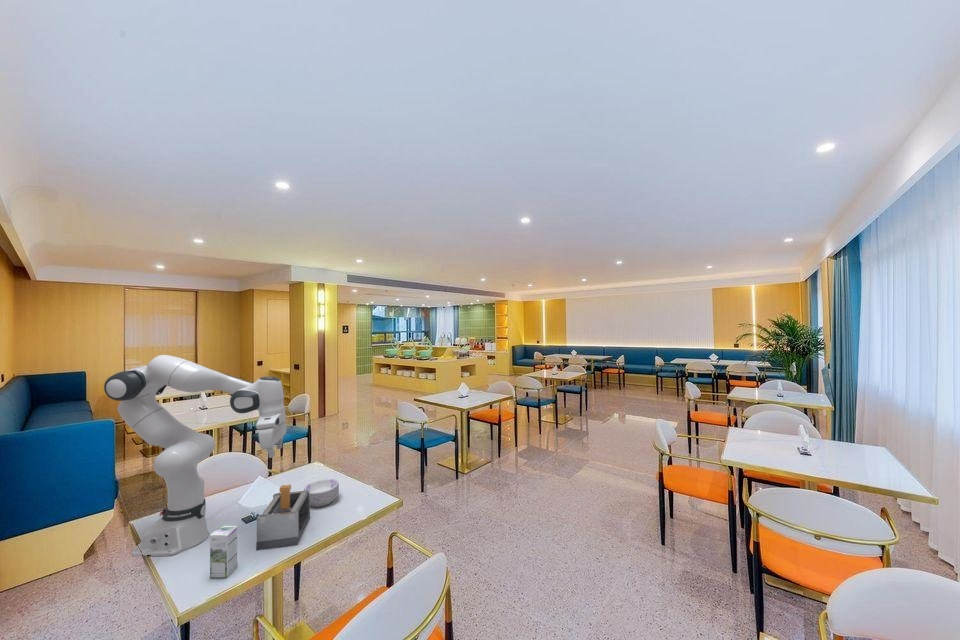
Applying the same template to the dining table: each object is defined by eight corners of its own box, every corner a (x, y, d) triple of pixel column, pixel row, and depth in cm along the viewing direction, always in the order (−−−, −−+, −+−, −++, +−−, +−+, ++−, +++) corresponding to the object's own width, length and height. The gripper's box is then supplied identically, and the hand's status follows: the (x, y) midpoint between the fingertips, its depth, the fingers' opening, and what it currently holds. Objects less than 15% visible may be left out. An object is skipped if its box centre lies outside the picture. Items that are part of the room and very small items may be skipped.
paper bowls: (299, 501, 170) (299, 484, 170) (332, 491, 180) (332, 475, 180) (309, 514, 159) (309, 496, 159) (343, 502, 169) (343, 485, 169)
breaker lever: (290, 513, 144) (290, 487, 144) (278, 514, 143) (278, 488, 143) (292, 510, 146) (292, 484, 146) (280, 511, 145) (280, 485, 145)
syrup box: (238, 566, 124) (238, 524, 124) (226, 578, 118) (227, 534, 118) (221, 567, 124) (221, 524, 124) (208, 579, 118) (209, 534, 118)
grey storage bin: (297, 545, 136) (297, 513, 136) (256, 550, 133) (256, 517, 133) (309, 517, 156) (310, 490, 156) (274, 521, 152) (274, 493, 153)
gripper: (272, 412, 150) (275, 445, 150) (254, 426, 130) (257, 463, 131) (289, 410, 152) (291, 442, 152) (273, 423, 132) (276, 460, 132)
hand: (275, 452), depth 141 cm, fingers open, 8 cm apart
